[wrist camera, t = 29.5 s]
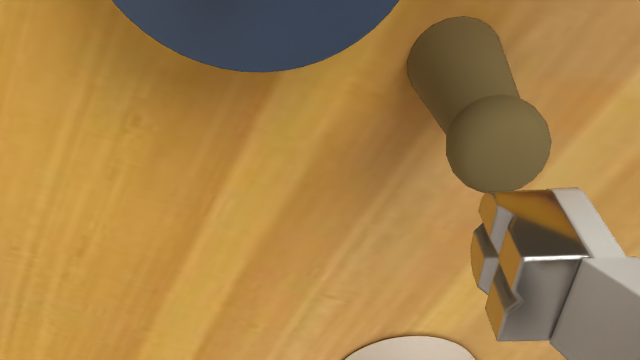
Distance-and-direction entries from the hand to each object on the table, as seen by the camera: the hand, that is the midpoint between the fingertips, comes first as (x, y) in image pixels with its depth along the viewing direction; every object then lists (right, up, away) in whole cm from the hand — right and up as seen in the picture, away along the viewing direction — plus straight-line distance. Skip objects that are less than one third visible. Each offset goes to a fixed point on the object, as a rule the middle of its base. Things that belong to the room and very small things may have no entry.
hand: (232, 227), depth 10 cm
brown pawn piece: (+10, +8, +29) cm, 32 cm away
